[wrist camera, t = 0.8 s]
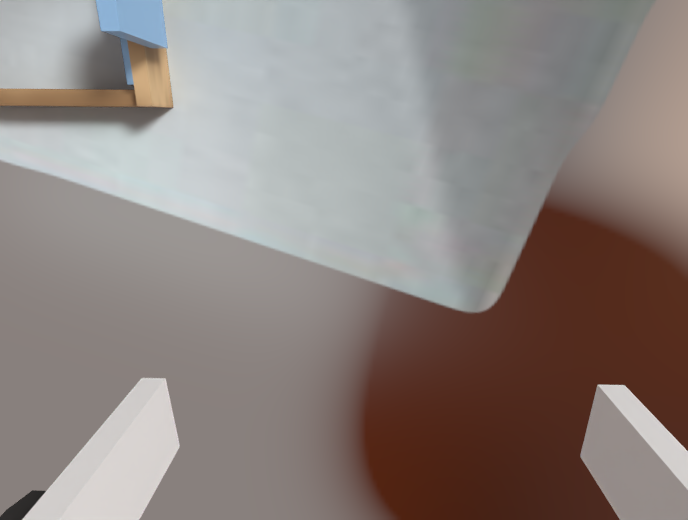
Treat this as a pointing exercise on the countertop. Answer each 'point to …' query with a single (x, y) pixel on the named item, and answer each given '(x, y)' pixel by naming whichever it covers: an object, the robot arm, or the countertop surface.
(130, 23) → the tab
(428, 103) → the countertop surface
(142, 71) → the rack
